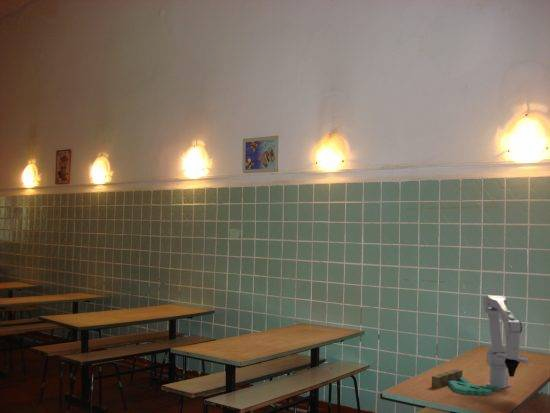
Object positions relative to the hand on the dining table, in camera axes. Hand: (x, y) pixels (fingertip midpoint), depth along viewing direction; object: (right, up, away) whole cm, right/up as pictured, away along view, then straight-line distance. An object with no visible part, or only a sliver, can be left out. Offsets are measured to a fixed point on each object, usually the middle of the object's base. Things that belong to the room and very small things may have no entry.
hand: (511, 376), depth 256 cm
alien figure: (-16, -10, +9) cm, 21 cm away
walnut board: (-25, -9, +17) cm, 31 cm away
